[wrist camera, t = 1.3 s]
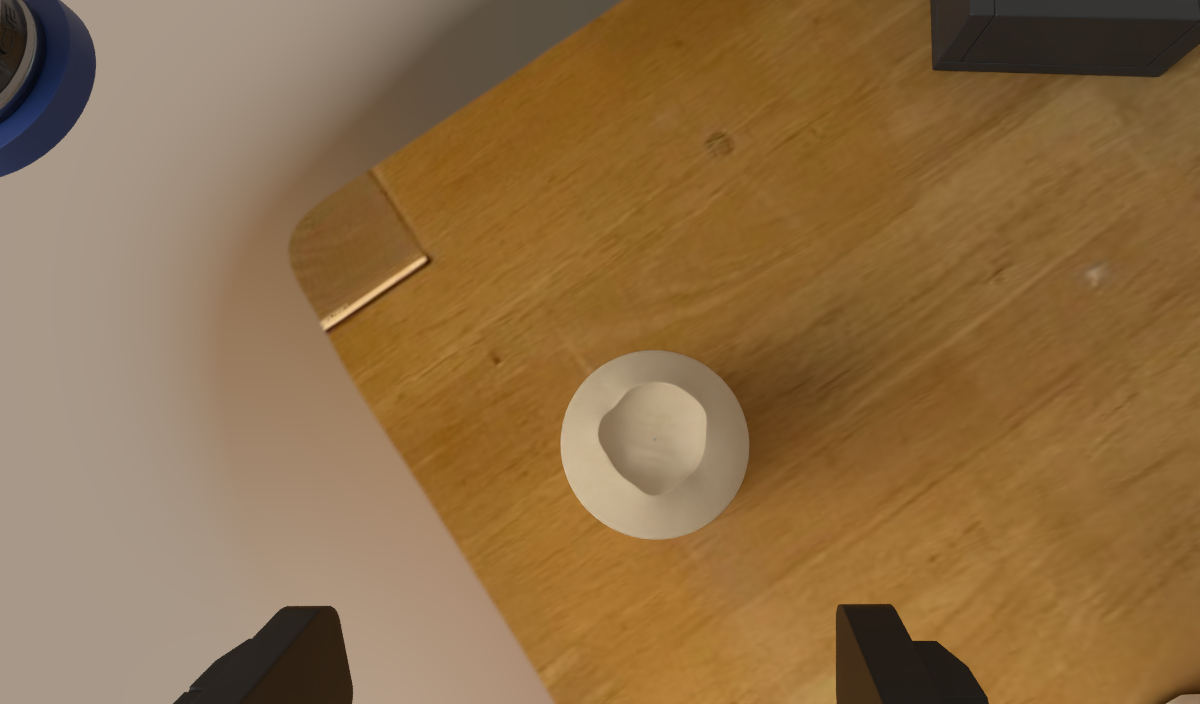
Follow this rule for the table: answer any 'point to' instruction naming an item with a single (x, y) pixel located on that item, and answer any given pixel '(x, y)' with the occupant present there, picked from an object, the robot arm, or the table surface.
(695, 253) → the table surface
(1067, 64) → the tray
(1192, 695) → the cup
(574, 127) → the table surface
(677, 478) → the candle
